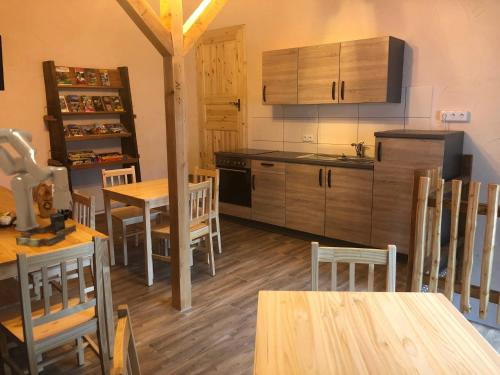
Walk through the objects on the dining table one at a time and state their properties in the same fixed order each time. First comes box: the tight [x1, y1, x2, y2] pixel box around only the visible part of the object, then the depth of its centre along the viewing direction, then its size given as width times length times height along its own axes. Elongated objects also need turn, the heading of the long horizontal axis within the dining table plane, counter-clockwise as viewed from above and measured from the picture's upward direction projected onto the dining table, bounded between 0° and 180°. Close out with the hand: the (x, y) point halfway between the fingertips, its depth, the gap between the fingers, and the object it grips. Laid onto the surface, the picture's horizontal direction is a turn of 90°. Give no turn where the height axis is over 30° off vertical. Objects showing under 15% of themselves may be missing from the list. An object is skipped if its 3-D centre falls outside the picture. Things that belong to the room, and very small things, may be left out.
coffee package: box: [37, 181, 57, 219], centre depth 269 cm, size 10×12×22 cm
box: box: [49, 212, 66, 236], centre depth 236 cm, size 8×6×11 cm
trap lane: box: [15, 223, 77, 248], centre depth 229 cm, size 24×27×4 cm
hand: (64, 220), depth 241 cm, fingers closed
